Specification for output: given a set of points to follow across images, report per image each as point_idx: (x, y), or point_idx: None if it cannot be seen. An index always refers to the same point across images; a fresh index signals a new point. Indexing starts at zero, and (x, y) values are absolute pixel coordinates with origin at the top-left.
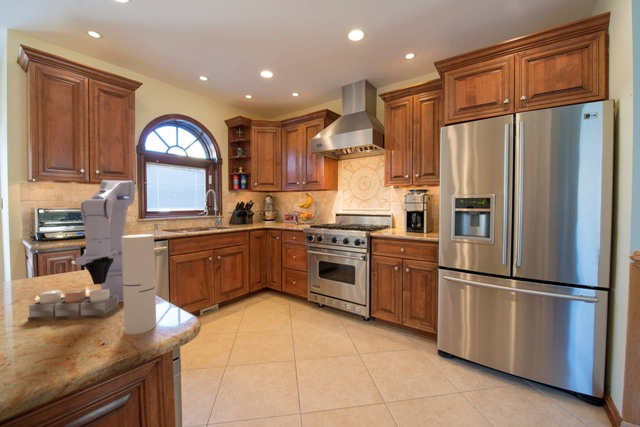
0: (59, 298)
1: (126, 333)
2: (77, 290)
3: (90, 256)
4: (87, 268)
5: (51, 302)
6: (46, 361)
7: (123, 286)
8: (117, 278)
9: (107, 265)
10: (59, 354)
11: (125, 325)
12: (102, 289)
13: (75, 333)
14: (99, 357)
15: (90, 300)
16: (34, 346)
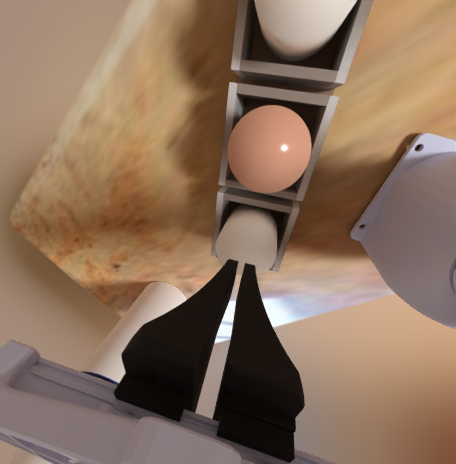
0: (295, 52)
1: (147, 285)
2: (294, 149)
3: (34, 454)
4: (171, 314)
5: (263, 34)
6: (64, 216)
7: (84, 367)
8: (427, 281)
9: (220, 384)
10: (82, 223)
11: (140, 294)
12: (270, 252)
13: (147, 209)
14: (87, 272)
15: (231, 216)
16: (94, 161)
